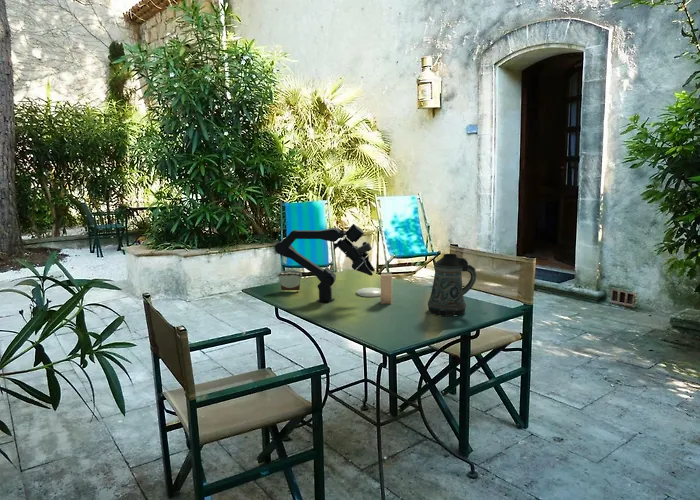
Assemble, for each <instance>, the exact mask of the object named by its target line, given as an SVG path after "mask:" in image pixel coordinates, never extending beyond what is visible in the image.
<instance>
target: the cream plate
mask: <svg viewBox="0 0 700 500" xmlns="http://www.w3.org/2000/svg"><path fill="white" fill-rule="evenodd" d="M356 295H358V296H360V297H367V298H375V297H377V298H378V297H381V287H380V288H379V287H363V288H359V289H357V290H356Z"/></svg>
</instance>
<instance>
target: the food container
mask: <svg viewBox="0 0 700 500" xmlns="http://www.w3.org/2000/svg"><path fill="white" fill-rule="evenodd" d="M277 277H278V279H279V280H278V281H279V286H280V287H279V288H280V291H281V290H300V291H301V281H302V280H301V279H302V277H303V274H302V272H301V271H299V270H283V271H282V270H281V271H279V272H278V274H277Z"/></svg>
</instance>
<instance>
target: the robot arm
mask: <svg viewBox="0 0 700 500" xmlns="http://www.w3.org/2000/svg"><path fill="white" fill-rule="evenodd" d="M364 235H365V232H364V231H363V230H362V229H361V227H359V226H357V225H356V224H355V223H353V224H351V225H350V228H348V230H346V231H345V230H341V229H339V228H338V227H331V228H325V229H321V230H320V229H319V230H316V229H315V230H303V229H302V230H301V229H299V230H298V229H293V230H291V231H290V233H289V234H288V235H287V236H286V237H285V238H284V239H283V240H280V241H279V242H277V243H276V244H275V247H274V250H275V253H276V254H278V255H280V256H282V257H285V258H288V259H291V260H293V261H294V262H295V263H296V264H298V265H300V266H301V267H302V268H303V269H306V270H307V271H309V272H310V273H311V274H312V275H315V277H316V279H318V281H319V283H318V285H317V289H318V299H316V302H317V301H318V302H319V303H328V304H329V303H330V302H333V301H335V300H336V299H335V298H333V295H332V294H333V291H332V289H333V288H332V286H333V285H334V283H335V282H336V280H337V276H336V274H335V271H334V270H332V269H331V268H329V267H328V266H325V268H324V267H320V266H319V265H318V264H316V263H315V262H313V261H312V260H310V259H308V257H305V256H304V255H303V254H301V253H299V252H298V251H297V249H295V248H294V246H293V245H292V244H293V243H294V242H295V241H296V240H323V241H327V242H332V243H333V242H334V243H333V244H332V245H333V250H334V251H335V250H336V249H337V248H338V249H339V250H340V251H341V252H342V253H343V254H344V255H345V257H346V258H349V260H351V262H352V264H351V268H352V269H353V270H354V271H356V272H360V273H363V274H366V275H368V276H371V277H372V276H373V275H374V274H373V273H374V272H375V268H374V266H373V265H372V263H371V261H370V255H369V253H368V252H370V251H372V246H371V243H370V242H367V241H364V242H362V245H360V246H357V245H355V244H354V242H355V243H357V242H358V241H359V240H360V239H361V238H362V237H363V236H364Z"/></svg>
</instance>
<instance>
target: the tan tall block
mask: <svg viewBox="0 0 700 500" xmlns="http://www.w3.org/2000/svg"><path fill="white" fill-rule="evenodd" d="M380 289H381V296H380V304H381V305H382V304H383V305H385V304H388V305H392V303H393V273H381V274H380Z"/></svg>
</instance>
